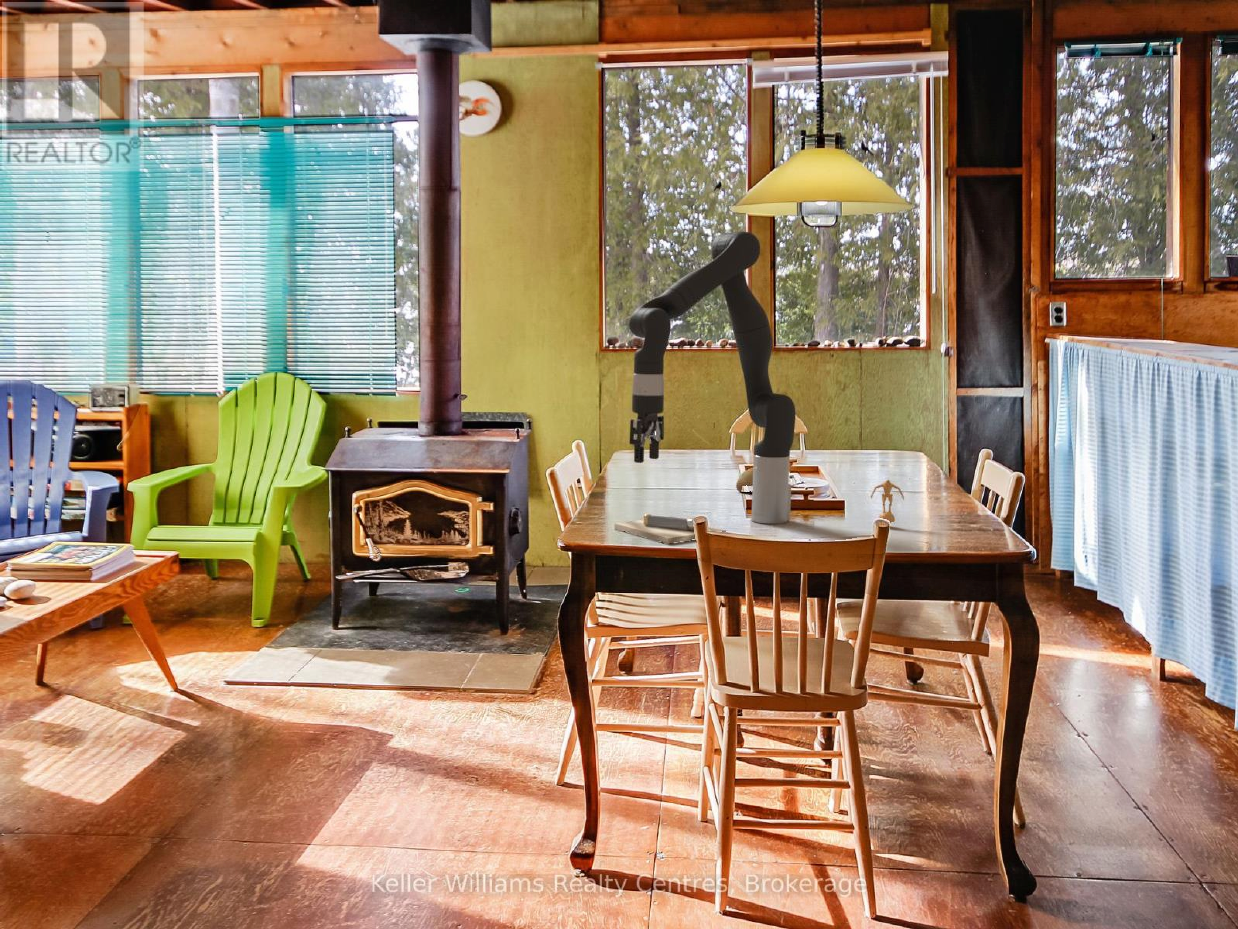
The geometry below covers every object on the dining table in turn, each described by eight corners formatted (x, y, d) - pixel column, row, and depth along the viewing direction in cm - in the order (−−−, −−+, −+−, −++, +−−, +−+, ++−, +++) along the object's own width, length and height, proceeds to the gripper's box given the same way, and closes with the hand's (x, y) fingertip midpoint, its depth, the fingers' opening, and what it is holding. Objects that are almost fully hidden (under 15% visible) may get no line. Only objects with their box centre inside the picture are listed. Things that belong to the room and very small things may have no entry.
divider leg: (701, 528, 268) (701, 518, 268) (697, 530, 265) (697, 521, 265) (646, 523, 274) (646, 513, 274) (641, 525, 271) (641, 515, 271)
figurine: (870, 527, 282) (872, 481, 281) (868, 523, 288) (870, 477, 287) (903, 529, 281) (906, 482, 280) (901, 524, 287) (903, 479, 285)
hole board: (671, 522, 285) (671, 516, 285) (725, 536, 269) (726, 529, 268) (614, 529, 275) (614, 522, 275) (667, 544, 258) (667, 537, 258)
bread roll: (788, 496, 330) (789, 469, 329) (738, 495, 330) (739, 468, 329) (782, 490, 340) (783, 464, 339) (733, 490, 339) (734, 464, 338)
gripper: (649, 395, 255) (648, 465, 258) (674, 392, 268) (672, 458, 270) (620, 393, 259) (619, 462, 261) (646, 390, 271) (645, 456, 274)
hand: (646, 460), depth 266 cm, fingers open, 8 cm apart
